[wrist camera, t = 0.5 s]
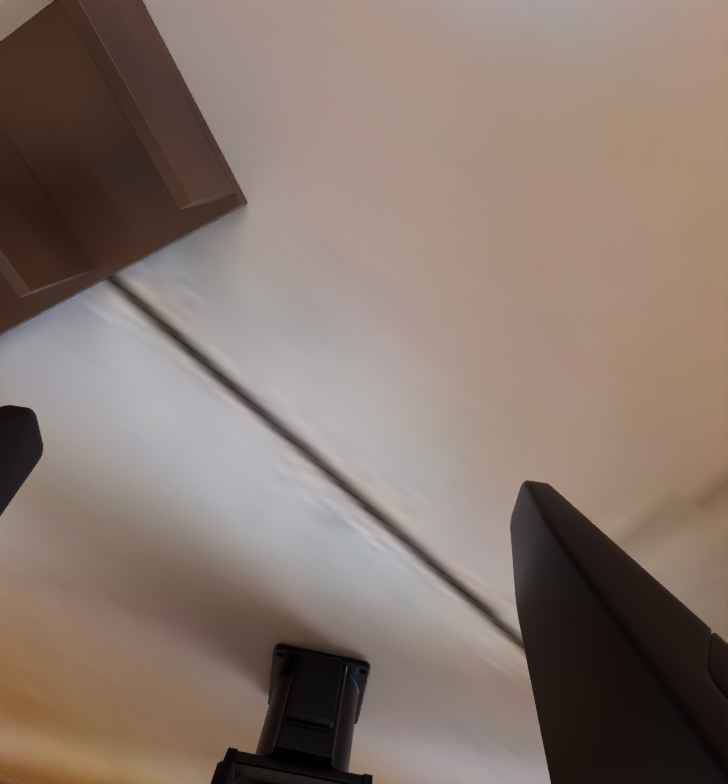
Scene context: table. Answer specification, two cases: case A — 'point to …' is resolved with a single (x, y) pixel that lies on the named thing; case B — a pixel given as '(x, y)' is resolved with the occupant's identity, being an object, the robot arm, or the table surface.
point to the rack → (96, 153)
